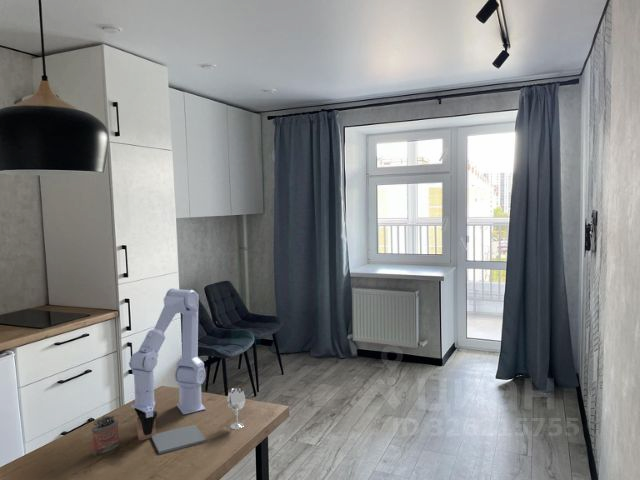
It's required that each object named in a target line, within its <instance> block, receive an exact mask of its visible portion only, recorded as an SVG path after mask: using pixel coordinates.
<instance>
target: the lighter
mask: <svg viewBox="0 0 640 480" xmlns="http://www.w3.org/2000/svg"><path fill="white" fill-rule="evenodd" d="M93 425H94V427H92V428H91V434H92V446H93V447H92V455H93V456H98V455H101V454H104V453H107V452H109V451H112V450H114V449H115V448H116V447H118V446H120V440H119V427H118V426H119V420H118V419H115V415H114V414H110V415H106V414H105V415H103V416H102V418H101V417H100V418H97V419H95V420H94V421H93Z"/></svg>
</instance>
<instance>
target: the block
mask: <svg viewBox="0 0 640 480" xmlns="http://www.w3.org/2000/svg"><path fill="white" fill-rule="evenodd" d="M135 420H136V422H135V423H136V437H137V438H138V440H139V442H140V441H143V440H147V439H151V435H154V434H157V431H156V419H155V420H154V424H153V429H152V433H151V434H149V435H144V432H143V428H142V424H141V421H140V419H139V418H138V416H136V419H135Z"/></svg>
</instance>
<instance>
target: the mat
mask: <svg viewBox="0 0 640 480" xmlns="http://www.w3.org/2000/svg"><path fill="white" fill-rule="evenodd" d="M150 439H151V442H152V443H153V444H154V446H155V448H156V451H157V452H158V454H159V455H162V454H166V453H170V452H174V451H177V450H180V449H185V448H189V447H192V446H196V445H200V444H203V443H206V442H207V439H206V437H204V434H202V432H201V431H200V429H199V428H198V427H197V425H196V424H191V425H186V426H184V427H179V428H175V429H170V430H168V431H167V430H166V431H163V432H157V433H156V434H154V435H151V438H150Z"/></svg>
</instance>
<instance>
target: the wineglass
mask: <svg viewBox="0 0 640 480" xmlns="http://www.w3.org/2000/svg"><path fill="white" fill-rule="evenodd" d="M226 403H227V406H228V408H229V409H230V410H232V411H234V414H235V423H232V424H231V425H230V426H229V427H230V429H231V430H239V429H242V428H244V426H245V425H244V423H241V422H239V421H238V418H239V417H238V416H239V410H240V411H241V410H242V409H243V408H244V407H245V405H246V395H245V392H244V389H243V388H240V387H235V388H231V389H229V390H228V395H227V402H226Z"/></svg>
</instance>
